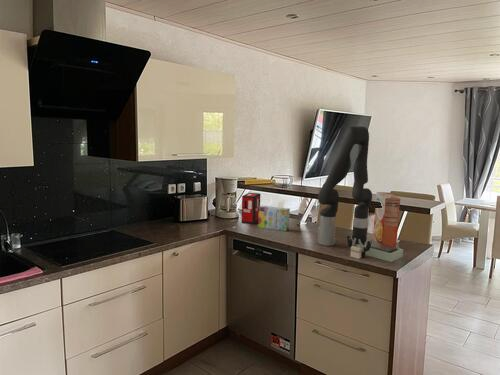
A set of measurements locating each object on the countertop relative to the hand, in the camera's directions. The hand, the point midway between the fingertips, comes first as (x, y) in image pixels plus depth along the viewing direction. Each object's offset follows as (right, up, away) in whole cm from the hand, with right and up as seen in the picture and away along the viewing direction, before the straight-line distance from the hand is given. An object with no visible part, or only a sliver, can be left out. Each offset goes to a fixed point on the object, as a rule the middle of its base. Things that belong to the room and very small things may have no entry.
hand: (358, 256), depth 203 cm
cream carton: (0, -1, 0) cm, 0 cm away
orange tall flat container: (+23, +3, +27) cm, 36 cm away
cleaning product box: (-57, +12, +77) cm, 97 cm away
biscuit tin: (+14, 0, +2) cm, 14 cm away
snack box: (-42, +9, +57) cm, 72 cm away
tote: (+13, 0, +3) cm, 14 cm away
